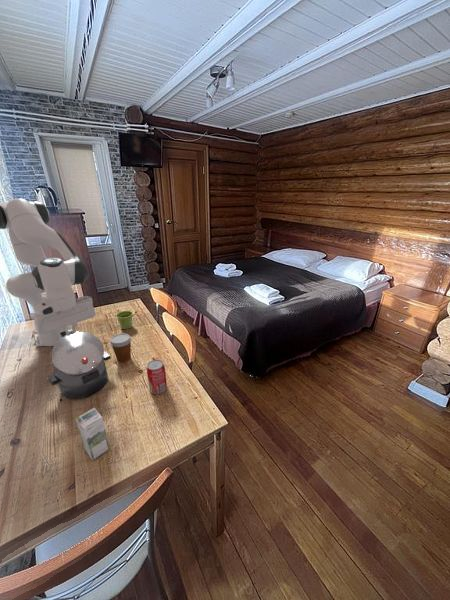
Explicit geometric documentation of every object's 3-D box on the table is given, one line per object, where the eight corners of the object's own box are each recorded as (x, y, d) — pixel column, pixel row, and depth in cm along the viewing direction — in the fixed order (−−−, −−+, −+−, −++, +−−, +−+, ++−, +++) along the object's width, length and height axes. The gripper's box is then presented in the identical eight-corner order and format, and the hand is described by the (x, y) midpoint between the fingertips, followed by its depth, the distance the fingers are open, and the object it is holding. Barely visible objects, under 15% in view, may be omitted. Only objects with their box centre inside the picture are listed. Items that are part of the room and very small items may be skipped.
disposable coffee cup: (125, 366, 121) (121, 345, 116) (109, 362, 124) (104, 341, 119) (138, 355, 129) (135, 334, 124) (122, 351, 132) (118, 331, 127)
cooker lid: (41, 341, 99) (40, 337, 97) (89, 324, 111) (89, 320, 109) (64, 384, 94) (64, 380, 91) (111, 361, 106) (112, 358, 104)
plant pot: (114, 329, 152) (112, 316, 148) (124, 322, 160) (122, 309, 157) (128, 332, 150) (126, 318, 146) (137, 324, 158) (136, 311, 154)
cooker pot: (48, 387, 108) (41, 366, 103) (102, 362, 123) (97, 343, 119) (65, 412, 96) (58, 390, 92) (122, 381, 112) (118, 360, 107)
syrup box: (102, 438, 86) (93, 406, 81) (110, 449, 83) (102, 416, 77) (84, 450, 83) (74, 417, 77) (92, 462, 79) (82, 428, 73)
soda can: (170, 387, 109) (168, 362, 103) (158, 398, 103) (155, 372, 98) (158, 381, 112) (155, 356, 107) (145, 391, 106) (142, 366, 101)
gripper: (87, 292, 105) (94, 322, 110) (28, 308, 90) (39, 341, 96) (94, 296, 101) (101, 327, 106) (33, 313, 87) (44, 348, 92)
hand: (71, 334), depth 101 cm, fingers closed
